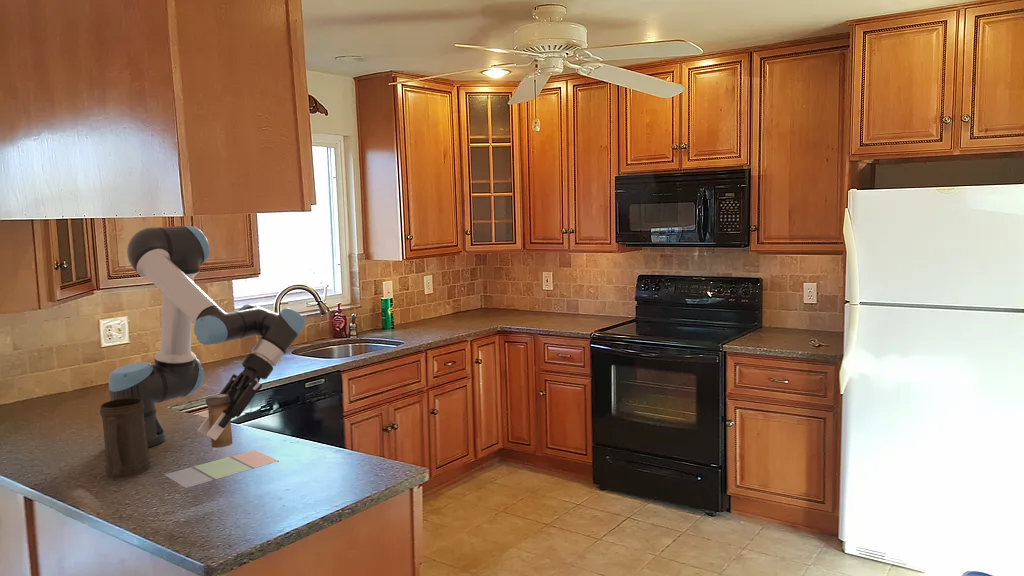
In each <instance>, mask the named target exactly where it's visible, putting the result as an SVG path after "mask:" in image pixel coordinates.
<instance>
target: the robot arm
mask: <svg viewBox="0 0 1024 576" xmlns="http://www.w3.org/2000/svg"><path fill="white" fill-rule="evenodd" d="M126 249H127V250H126V254H127V255H126V256H127V260H128V262H129V264H130V266H131V268H132V269H133V271H135V272H136V273H137V274H138V275H139V277H141V278H143V279H145V278H146V279H149V281H150V282H152V284H153V285H155V287H156V288H158V289H159V291H161V292H162V295H161V322H160V327H161V328H160V350H159V351H158V352H157V353H156V354H155V355H154V363H153V364H152V363H151V362H150V361H139V362H136V363H129V364H125V365H122V366H120V367H118V368H115V369H114V370H112V371H111V372H110V373H109V375H108V389H109V398H110V401H113V400H117V399H124V398H140V399H142V401H143V404H144V421H145V425H146V434H147V443H148V448H151V447H155V446H157V445H160V444H162V443H163V442H165V441H166V439H167V438H166V431H165V429H164V426H163V424H162V423H161V420H160V418H159V416H158V414H157V404H159V403H163V402H167V401H170V400H174V399H178V398H184V397H186V396H188V395H192V394H194V393H196V392H197V391H198V390H199V389H200V387H201V386H202V384H203V381H204V368H203V367H202V362H201V361H200V360H199V359H198V358H197V355H196V354H195V353H194V352H193V351H192V333H193V332H194V336H196V340H197V341H198V342H199V343H200V344H202V345H205V346H209V345H210V346H211V345H221V344H222V343H227V342H230V341H235V340H241V339H244V338H249V337H254V336H255V337H256V336H258V337H260V338H259V340H258V341H257V343H256V344H255V345H254V346H253V348H251V353H248V355H246V357H245V358H244V360H243V361H242V362H241V365H242V367H243V370H242V371H241V372H240V373H239V374H238V375H237V374H233V373H232V375H231V377H230V379H229V380H228V382H227V383H226V385H224V387H223V389H222V390H221V391H220V393H219V394H218V395H220V394H227V395H229V396H230V402H229V407H228V408H227V410H223V412H224V413H222V414H221V415H220V417H219V418H218V419H217V421H216V422H215V423H214V425H213V426H212V427H211V429H210V423H209V414H208V416H206V418H205V420H204V421H203V422H202V423H201V424H200V426H199V427H198V429H197V431H198V432H199V433H200V434H201V435H204V436H205V437H209V438H210V439H211V438H212V439H214V440H215V441H216V439H217V438H218V437H219V435H220V434H221V433H222V431H223V430H224V429H225V427H226V426H227V425H228V423H229V422H230V421H231V420H233V419H234V418H235V417H236V418H240V416H241V415H242V414H243V412H244V410H245V409H246V408H247V406H248V405H249V404H250V402H251V401H252V400H253V398H254V397H255V396H256V394H257V393H258V392H259V391H260V390H261V389H262V388H263V384H261V383H260V380H267V379H268V377H269V376H270V375H271V373H272V372H273V370H274V367H276V366H277V365H278V363H279V362H281V361H282V358H283V357H284V356H285V354H286V353H287V352H288V350H289V348H290V347H291V346H292V345H293V343H294V342H295V341H296V339H297V338H298V337H299V336H300V335H301V332H302V331H303V329H304V327H305V326H306V319H305V318H304V316H303V315H302V314H300V313H299V312H298V311H296V310H294V309H292V308H291V307H284V308H282V310H281V311H279V313H278V312H274V311H271V310H269V309H266V308H264V307H262V306H261V305H260V306H259V305H255V304H253V303H247V304H244V305H243V306H242V307H240V308H239V309H238V310H237V311H230V312H229V311H228V312H225V311H224V309H222V307H220V306H219V305H218V304H217V303H216V302H215V301H214V300H213V299H212V298H210V297H209V296H208V294H206V293H205V292H204V291H203V290H202V289H201V288H200V287H199V286H198V285H197V284H196V283H195V277H196V276H197V275H198V274H199V273H200V272H201V265H202V264H204V263H206V262H207V260H208V259H209V257H210V244H209V241H208V239H207V236H205V234H204V233H203V231H202V230H201V229H199V227H195V226H193V225H192V226H188V225H187V226H186V225H175V226H173V225H172V226H161V227H155V226H154V227H153V226H152V227H151V226H150V227H146V228H143V229H140V230H139V231H138V232H136V233H135V234H133V236H132V237H131V238H130V240H129V242H128V244H127V248H126ZM193 323H194V326H193ZM192 328H193V330H192ZM192 331H193V332H192ZM225 413H226V414H225Z"/></svg>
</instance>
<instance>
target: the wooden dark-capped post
mask: <svg viewBox="0 0 1024 576" xmlns="http://www.w3.org/2000/svg"><path fill="white" fill-rule="evenodd" d="M219 394H220V393H219ZM219 394H214V395H210V396H207V397H206V398H205V403H206V405H207V411H208V412H207V413H208V415H209V423H210V429H211V427H212V426H213V425H214V423H215V422H216V421H217V419H218V418H219V417H220V415H221V414H222V413H224V412H223V410H227V408H228V407H229V405H230V404H229V402H230V396H229V395H227V394H220V395H219ZM225 414H226V413H225ZM232 432H233V431H232V423H231V420H230V422H229V423H228V425H227V426H226V427H225V429H224V430H223V431H222V433H221V434H220V435H219V437H218V438H217V439H216V441H215V440H214V439H212V438H211V437H210V443H211V444H210V445H211V447H212V448H217V449H219V448H224V447H229V446H231V445H232V444H233V434H232Z"/></svg>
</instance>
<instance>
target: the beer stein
mask: <svg viewBox="0 0 1024 576" xmlns="http://www.w3.org/2000/svg"><path fill="white" fill-rule="evenodd" d="M99 415H100V416H101V420H102V428H103V438H104V439H103V440H104V453H105V455H104V457H105V464H104V469H105V477H106V478H111V479H121V478H129V477H134V476H137V475H140V474H143V473H145V472H147V471H149V470H150V469H151V461H150V460H151V458H150V451H149V447H148V443H147V434H146V425H145V421H144V404H143V401H142V399H140V398H124V399H117V400H113V401H111V400H109V401H106V402H104V403H102V404H101V405H100V408H99Z"/></svg>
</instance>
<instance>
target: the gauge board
mask: <svg viewBox="0 0 1024 576" xmlns="http://www.w3.org/2000/svg"><path fill="white" fill-rule="evenodd" d="M276 462H277V463H279V462H280V460H278V459H276V458H275V457H271V456H270V455H267V454H265V453H262V452H260V451H258V450H256V449H252V450H249V451H245V452H242V453H239V454H238V453H237V454H234V455H231V456H228V457H224V458H220V459H217V460H212V461H210V462H206V463H201V464H197V465H195V466H191V467H187V468H184V469H180V470H175V471H173V472H169V473H165V474H164V476H165V477H167V478H168V479H170V480H172V481H174V482H175V483H176V484H179V485H180V486H181V487H183V488H184V489H188V488H191V487H195V486H198V485H201V484H205V483H209V482H211V481H215V480H218V479H222V478H225V477H228V476H232V475H233V476H234V475H235V474H240V473H242V472H245V471H249V470H253V469H256V468H259V467H262V466H266V465H270V464H273V463H276Z"/></svg>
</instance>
